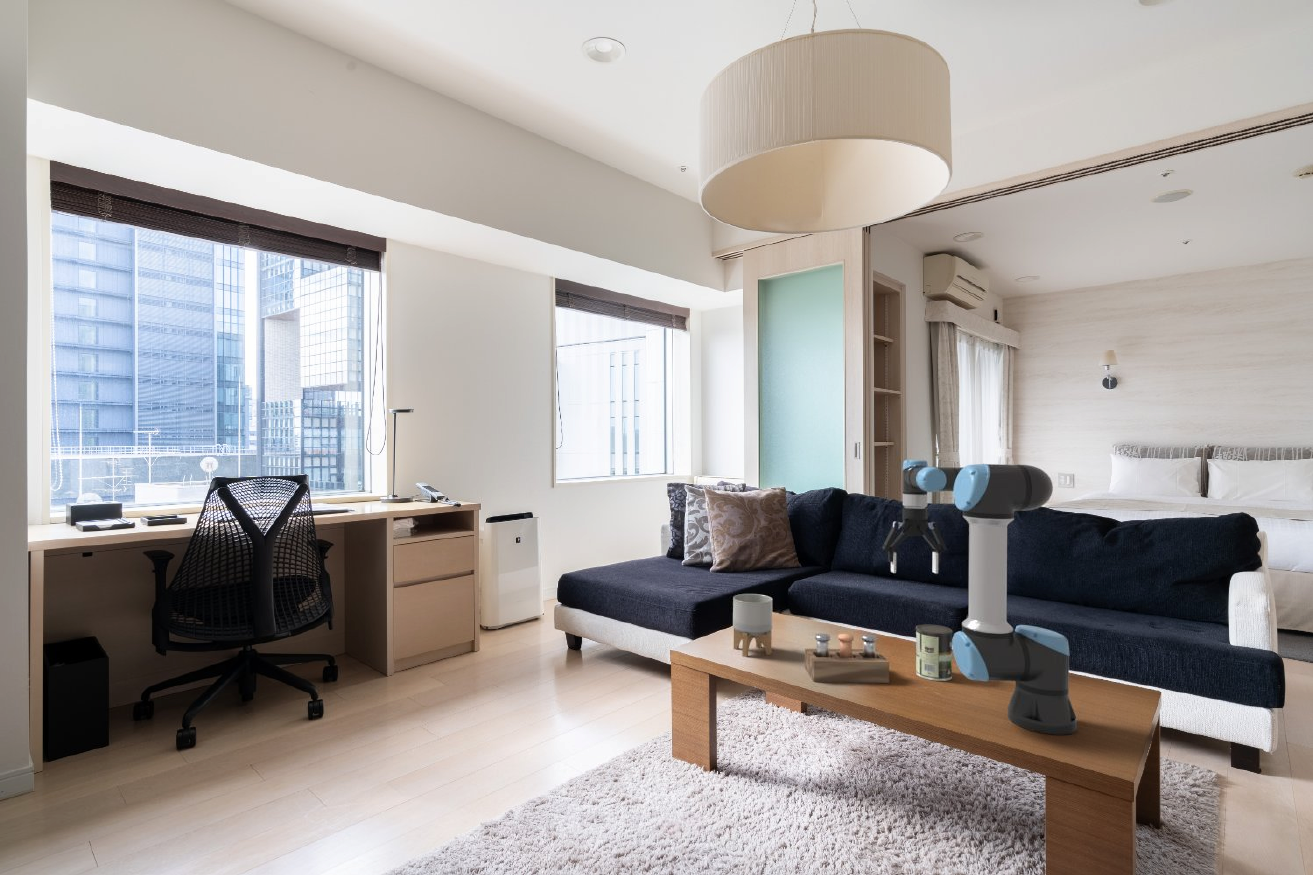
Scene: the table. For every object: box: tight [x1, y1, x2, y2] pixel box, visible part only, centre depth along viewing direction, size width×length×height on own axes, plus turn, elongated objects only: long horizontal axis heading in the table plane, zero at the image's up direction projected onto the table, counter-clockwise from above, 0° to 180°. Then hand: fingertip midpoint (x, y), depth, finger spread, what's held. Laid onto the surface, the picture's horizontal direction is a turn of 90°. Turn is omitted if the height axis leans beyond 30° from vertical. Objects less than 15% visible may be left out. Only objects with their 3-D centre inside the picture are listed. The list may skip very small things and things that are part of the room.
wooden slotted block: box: [804, 648, 890, 684], centre depth 202 cm, size 12×22×6 cm, turn 90°
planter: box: [732, 593, 773, 658], centre depth 224 cm, size 13×13×18 cm
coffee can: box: [915, 623, 954, 682], centre depth 202 cm, size 10×10×14 cm
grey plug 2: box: [861, 633, 878, 658], centre depth 202 cm, size 4×4×7 cm
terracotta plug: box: [837, 633, 855, 658], centre depth 202 cm, size 4×4×7 cm
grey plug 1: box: [814, 633, 831, 658], centre depth 202 cm, size 4×4×7 cm
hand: (914, 572), depth 218 cm, fingers open, 13 cm apart
